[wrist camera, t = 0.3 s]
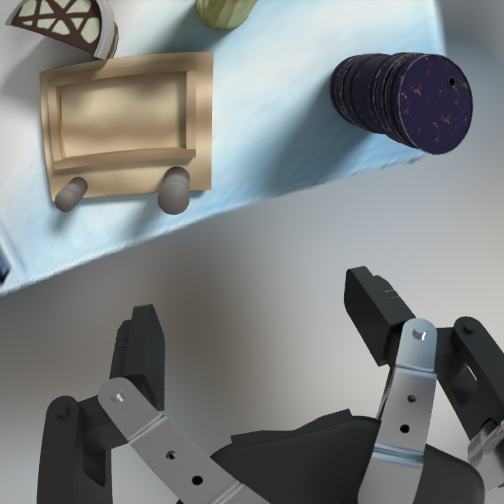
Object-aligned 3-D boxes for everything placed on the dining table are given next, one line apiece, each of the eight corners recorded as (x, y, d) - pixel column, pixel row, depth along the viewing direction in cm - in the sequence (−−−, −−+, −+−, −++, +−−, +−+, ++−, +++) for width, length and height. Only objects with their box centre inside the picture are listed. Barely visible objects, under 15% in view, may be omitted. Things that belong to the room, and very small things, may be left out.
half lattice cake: (150, 18, 28) (136, -2, 19) (122, 63, 30) (99, 58, 21) (67, -12, 23) (33, -33, 14) (41, 31, 25) (0, 23, 16)
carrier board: (46, 71, 28) (10, 73, 20) (212, 53, 31) (218, 44, 24) (57, 195, 36) (29, 225, 28) (210, 184, 39) (215, 212, 31)
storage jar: (372, 140, 40) (444, 175, 27) (314, 101, 36) (378, 117, 23) (406, 83, 36) (485, 97, 23) (351, 39, 32) (427, 30, 20)
